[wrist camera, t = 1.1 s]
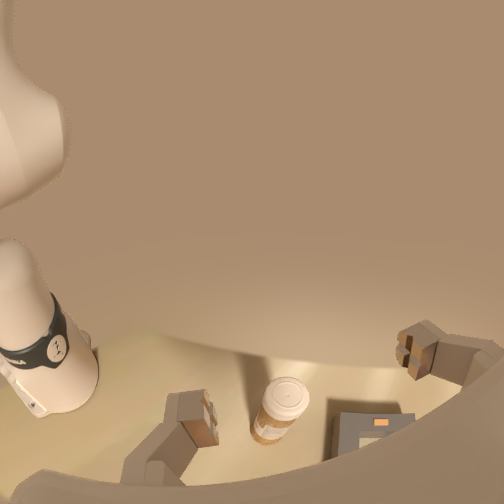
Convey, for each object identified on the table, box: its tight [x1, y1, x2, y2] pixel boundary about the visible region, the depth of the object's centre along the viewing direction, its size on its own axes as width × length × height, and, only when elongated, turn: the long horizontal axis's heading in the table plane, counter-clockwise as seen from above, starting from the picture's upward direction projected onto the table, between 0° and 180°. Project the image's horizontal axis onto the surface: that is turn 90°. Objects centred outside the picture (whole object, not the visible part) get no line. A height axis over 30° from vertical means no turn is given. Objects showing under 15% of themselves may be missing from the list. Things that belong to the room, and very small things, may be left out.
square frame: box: [330, 412, 415, 459], centre depth 26 cm, size 13×13×3 cm
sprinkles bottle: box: [251, 377, 309, 445], centre depth 27 cm, size 5×5×14 cm
